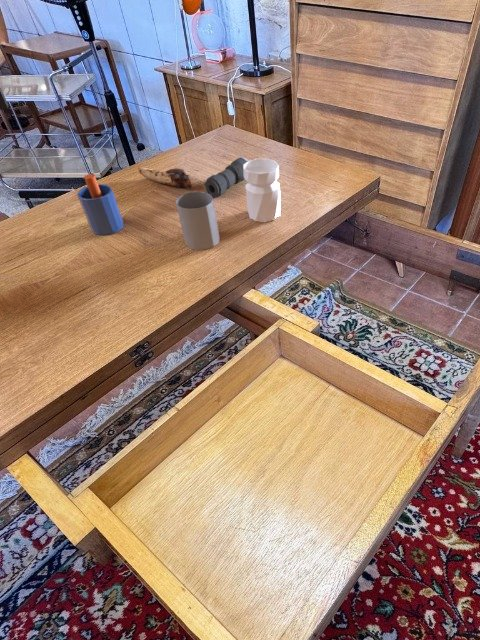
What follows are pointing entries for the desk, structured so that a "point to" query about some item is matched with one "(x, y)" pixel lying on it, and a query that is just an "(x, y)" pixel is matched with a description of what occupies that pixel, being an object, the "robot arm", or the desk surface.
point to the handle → (93, 186)
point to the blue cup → (101, 211)
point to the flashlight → (226, 178)
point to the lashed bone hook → (167, 176)
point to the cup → (198, 220)
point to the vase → (262, 189)
